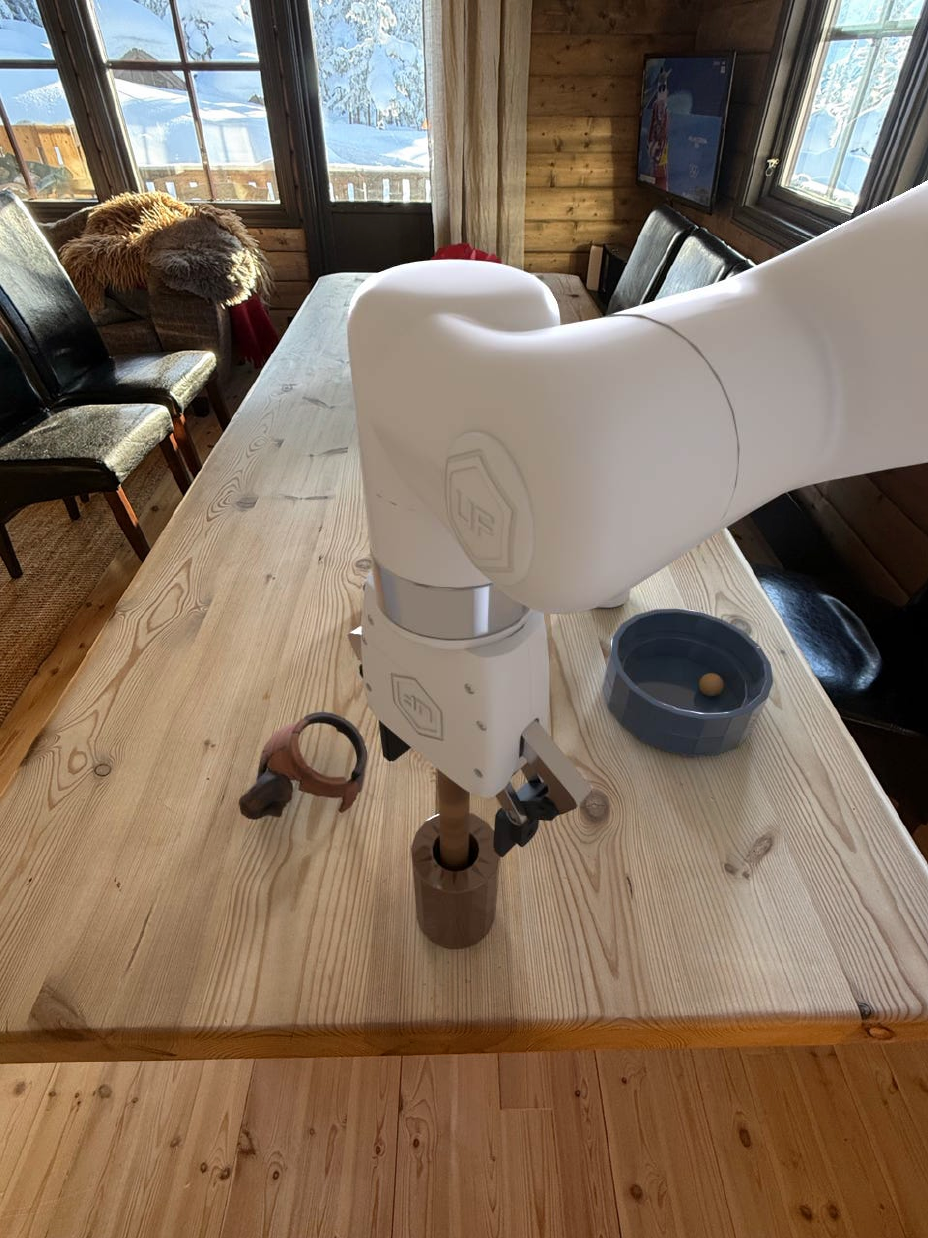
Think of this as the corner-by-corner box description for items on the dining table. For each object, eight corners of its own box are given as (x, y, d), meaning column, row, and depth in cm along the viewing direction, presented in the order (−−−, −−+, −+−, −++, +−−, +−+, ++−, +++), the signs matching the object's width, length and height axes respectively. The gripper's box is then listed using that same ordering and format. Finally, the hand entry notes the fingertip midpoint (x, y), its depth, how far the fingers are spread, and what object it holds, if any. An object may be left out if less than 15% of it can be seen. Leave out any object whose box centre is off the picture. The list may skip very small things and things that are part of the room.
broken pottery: (292, 733, 66) (324, 685, 61) (359, 800, 65) (397, 757, 60) (197, 804, 56) (227, 754, 51) (275, 885, 55) (312, 841, 50)
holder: (485, 959, 49) (489, 901, 43) (406, 938, 50) (399, 880, 44) (502, 881, 54) (507, 820, 48) (428, 864, 55) (425, 802, 49)
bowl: (761, 774, 62) (781, 733, 58) (596, 742, 64) (605, 701, 60) (747, 661, 73) (764, 621, 69) (608, 639, 76) (616, 598, 72)
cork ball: (691, 692, 69) (699, 678, 67) (701, 678, 70) (710, 664, 68) (712, 705, 68) (721, 691, 66) (722, 691, 69) (731, 677, 67)
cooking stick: (464, 920, 51) (466, 761, 38) (439, 914, 51) (432, 754, 38) (470, 895, 52) (474, 734, 39) (445, 890, 53) (441, 728, 39)
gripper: (276, 530, 32) (323, 748, 44) (555, 716, 23) (524, 930, 35) (390, 476, 37) (406, 688, 48) (665, 618, 28) (605, 837, 39)
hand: (456, 790), depth 41 cm, fingers open, 9 cm apart
